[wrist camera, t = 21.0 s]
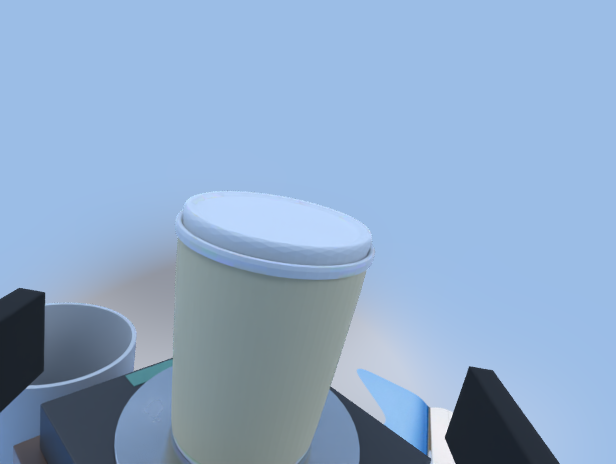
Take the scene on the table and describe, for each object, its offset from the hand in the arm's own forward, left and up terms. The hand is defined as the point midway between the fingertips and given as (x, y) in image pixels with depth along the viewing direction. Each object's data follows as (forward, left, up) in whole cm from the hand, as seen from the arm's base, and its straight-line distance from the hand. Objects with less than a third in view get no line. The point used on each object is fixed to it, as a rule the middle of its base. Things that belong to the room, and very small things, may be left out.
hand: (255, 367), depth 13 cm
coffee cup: (+5, -6, -9) cm, 12 cm away
